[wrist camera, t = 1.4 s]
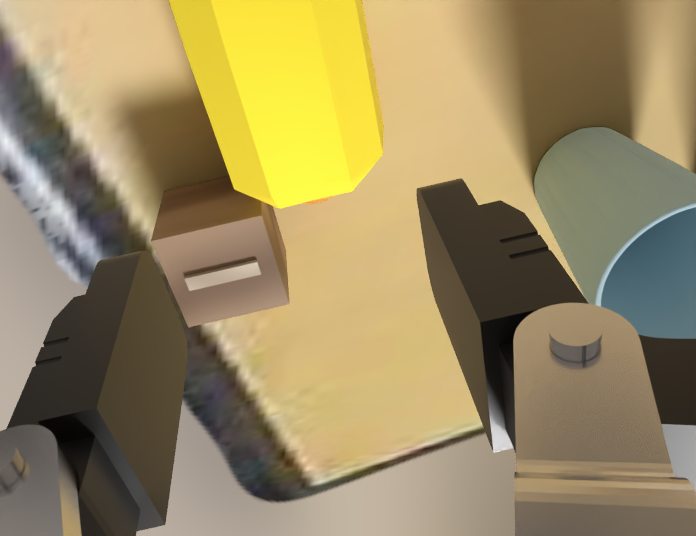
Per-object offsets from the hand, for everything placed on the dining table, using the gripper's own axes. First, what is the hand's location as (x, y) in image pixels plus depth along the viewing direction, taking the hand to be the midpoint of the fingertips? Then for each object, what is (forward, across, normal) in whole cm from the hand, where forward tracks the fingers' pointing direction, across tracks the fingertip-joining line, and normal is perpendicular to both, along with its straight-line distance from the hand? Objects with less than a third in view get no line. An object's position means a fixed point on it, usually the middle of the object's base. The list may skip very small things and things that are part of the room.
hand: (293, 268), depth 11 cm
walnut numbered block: (+21, +5, +10) cm, 24 cm away
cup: (+22, -14, +12) cm, 28 cm away
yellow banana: (+22, 0, 0) cm, 22 cm away
